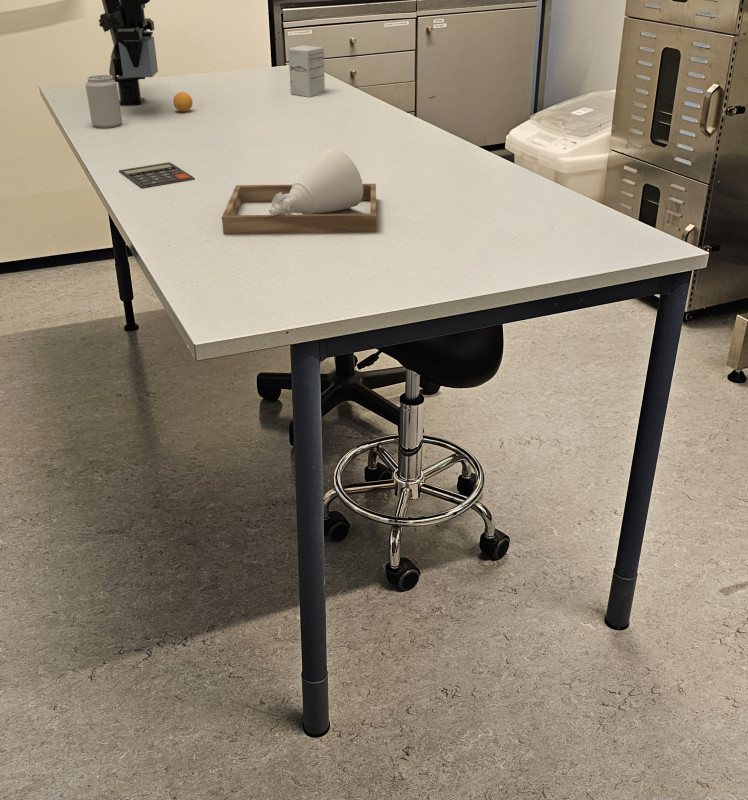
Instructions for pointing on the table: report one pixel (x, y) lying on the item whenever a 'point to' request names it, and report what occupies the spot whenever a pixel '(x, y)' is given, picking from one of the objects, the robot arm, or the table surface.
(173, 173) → the calculator
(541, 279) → the table surface
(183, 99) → the ball
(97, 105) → the can
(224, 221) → the wooden tray
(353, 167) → the rocket engine
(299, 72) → the supplement box
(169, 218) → the table surface
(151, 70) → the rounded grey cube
